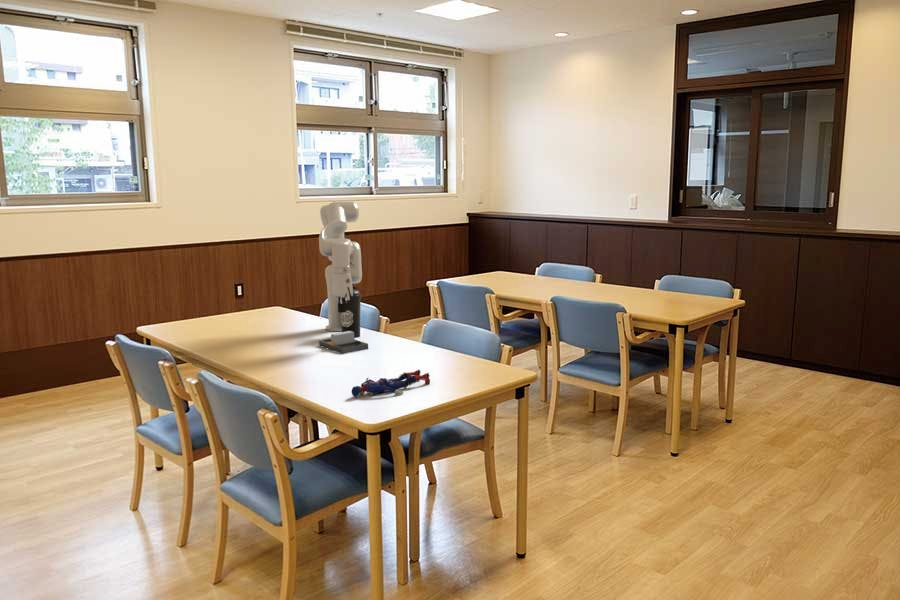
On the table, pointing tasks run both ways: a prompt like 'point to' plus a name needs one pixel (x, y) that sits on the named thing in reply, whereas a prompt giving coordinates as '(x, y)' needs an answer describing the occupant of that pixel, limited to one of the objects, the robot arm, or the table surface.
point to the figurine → (390, 384)
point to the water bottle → (352, 314)
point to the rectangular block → (342, 337)
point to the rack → (344, 346)
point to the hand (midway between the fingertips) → (342, 311)
